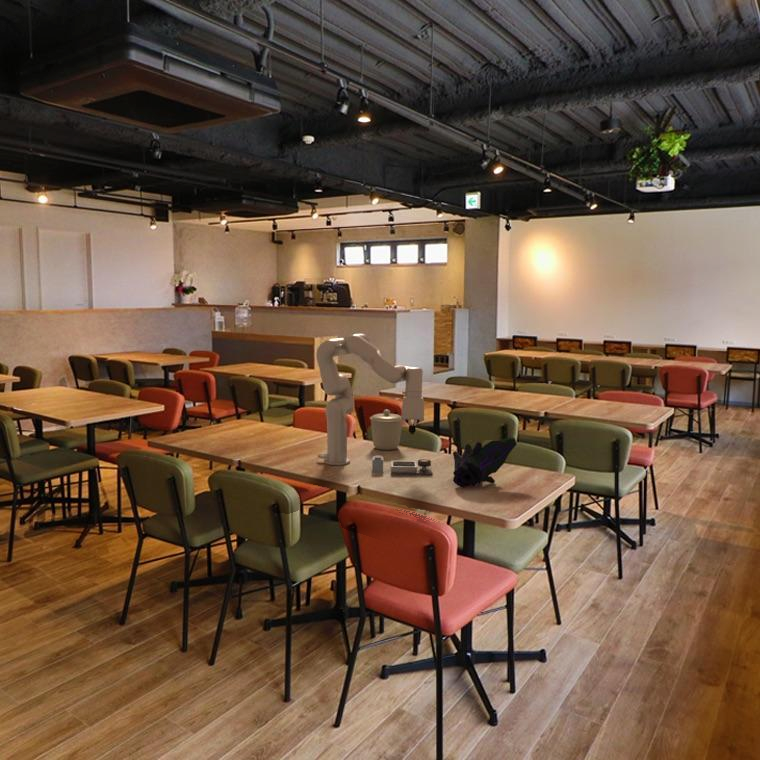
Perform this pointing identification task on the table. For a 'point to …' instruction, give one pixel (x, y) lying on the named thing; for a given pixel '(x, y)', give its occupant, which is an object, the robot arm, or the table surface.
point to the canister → (386, 430)
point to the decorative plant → (481, 461)
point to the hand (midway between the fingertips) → (412, 433)
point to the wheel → (424, 462)
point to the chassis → (409, 468)
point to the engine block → (377, 464)
